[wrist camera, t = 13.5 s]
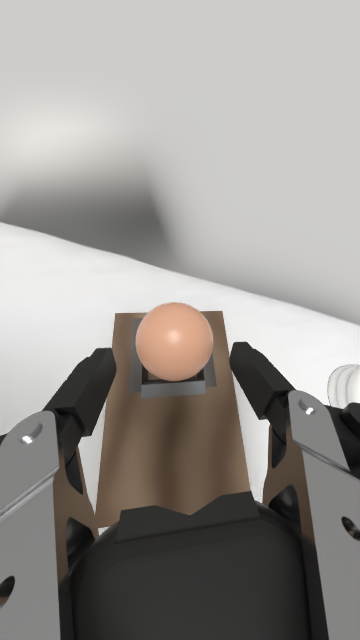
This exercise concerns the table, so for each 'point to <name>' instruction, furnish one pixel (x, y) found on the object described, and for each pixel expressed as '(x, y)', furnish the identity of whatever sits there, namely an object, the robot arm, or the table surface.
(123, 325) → the jig board
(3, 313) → the table surface
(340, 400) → the coaster
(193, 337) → the orange-capped post
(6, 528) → the robot arm
